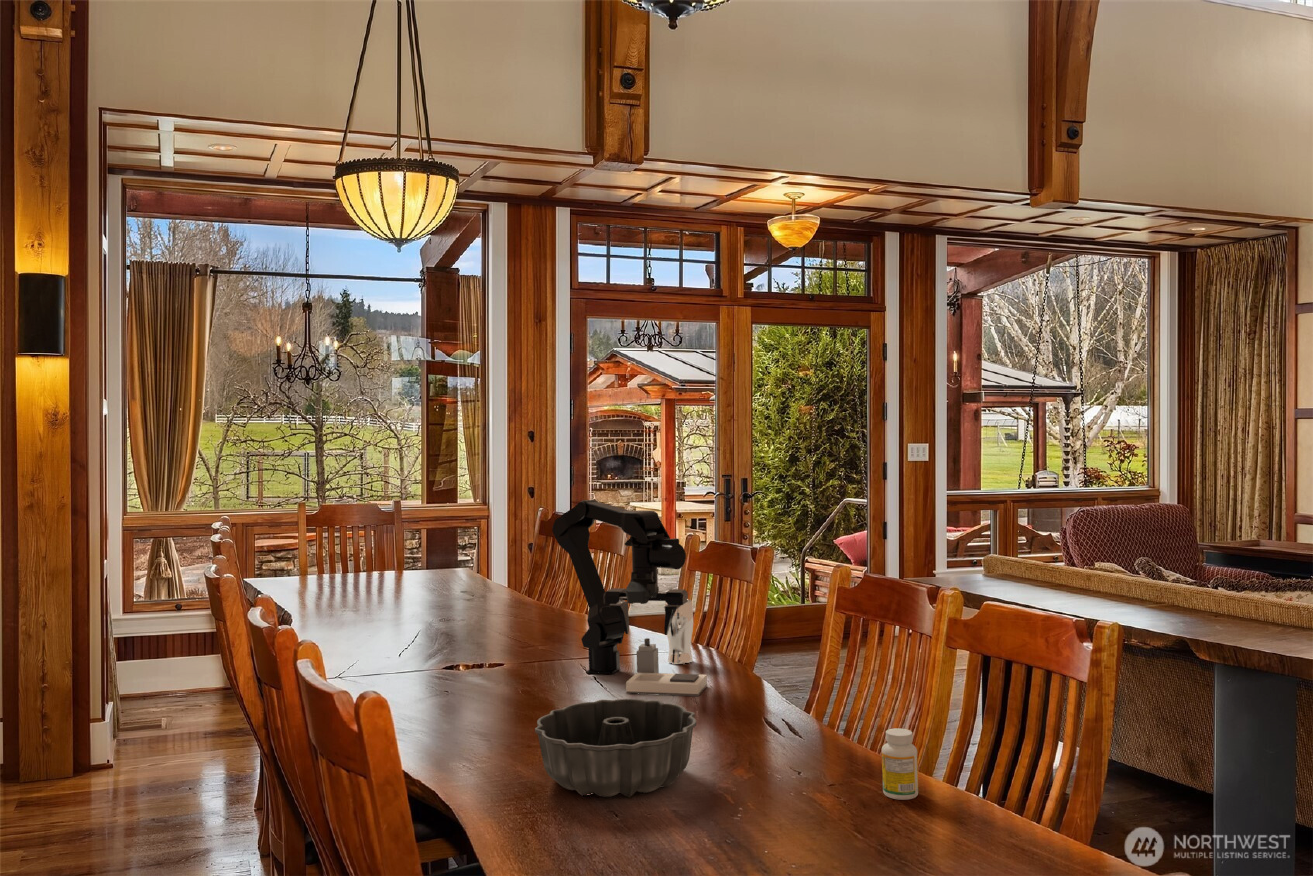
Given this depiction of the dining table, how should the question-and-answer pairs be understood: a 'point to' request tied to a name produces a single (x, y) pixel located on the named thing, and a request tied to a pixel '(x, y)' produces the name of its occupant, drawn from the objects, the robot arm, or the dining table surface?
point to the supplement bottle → (899, 765)
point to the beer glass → (681, 635)
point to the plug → (647, 658)
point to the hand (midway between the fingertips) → (646, 634)
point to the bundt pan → (616, 745)
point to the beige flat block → (667, 684)
